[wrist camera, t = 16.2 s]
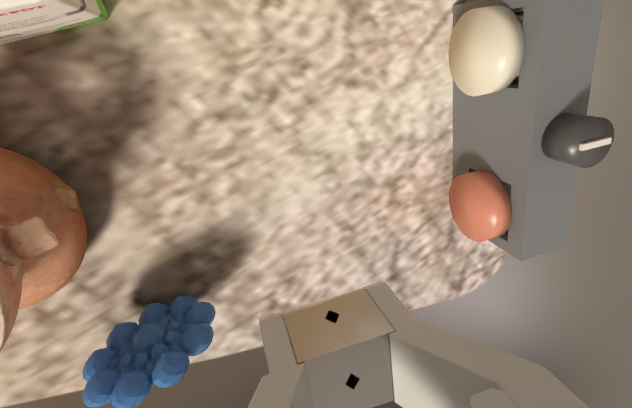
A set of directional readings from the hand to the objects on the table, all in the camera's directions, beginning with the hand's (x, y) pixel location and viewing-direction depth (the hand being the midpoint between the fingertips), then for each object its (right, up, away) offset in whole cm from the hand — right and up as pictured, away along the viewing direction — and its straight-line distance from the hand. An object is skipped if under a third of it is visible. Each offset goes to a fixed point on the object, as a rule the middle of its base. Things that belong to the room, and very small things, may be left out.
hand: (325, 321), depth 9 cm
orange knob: (+19, +5, +34) cm, 39 cm away
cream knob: (+16, +18, +28) cm, 37 cm away
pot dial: (+21, +9, +23) cm, 32 cm away
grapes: (-17, -9, +31) cm, 36 cm away
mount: (+18, +12, +33) cm, 39 cm away
